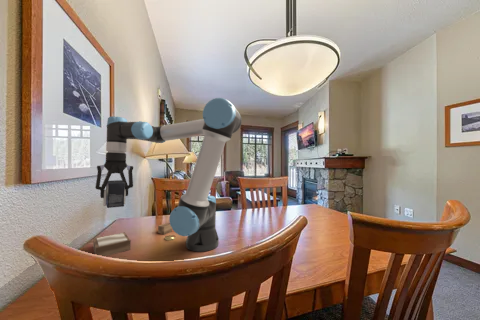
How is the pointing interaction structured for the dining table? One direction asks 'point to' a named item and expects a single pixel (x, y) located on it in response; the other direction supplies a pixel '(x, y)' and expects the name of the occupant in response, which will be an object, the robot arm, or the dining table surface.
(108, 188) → the small box
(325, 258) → the dining table surface
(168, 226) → the walnut block
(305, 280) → the dining table surface
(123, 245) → the plinth
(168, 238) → the brass disc
